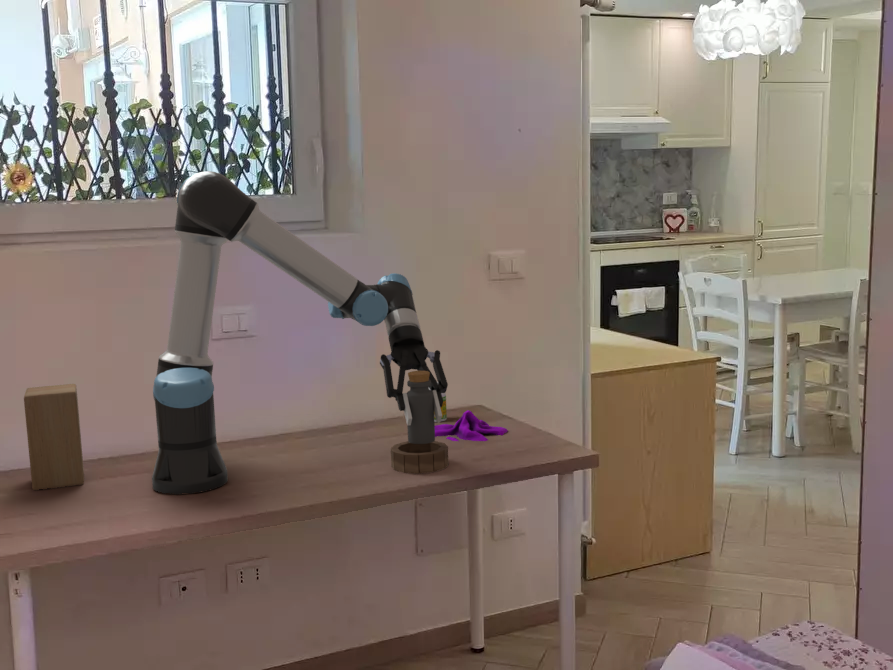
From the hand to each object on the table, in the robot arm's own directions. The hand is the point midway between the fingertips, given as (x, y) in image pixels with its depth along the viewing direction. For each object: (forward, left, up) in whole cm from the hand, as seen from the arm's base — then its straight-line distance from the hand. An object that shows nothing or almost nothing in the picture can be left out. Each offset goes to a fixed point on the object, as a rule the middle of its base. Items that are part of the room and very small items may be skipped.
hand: (424, 420), depth 204 cm
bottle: (0, +4, -6) cm, 7 cm away
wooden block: (-76, +20, -11) cm, 79 cm away
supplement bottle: (+13, +44, -11) cm, 47 cm away
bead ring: (-1, +4, -11) cm, 11 cm away
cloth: (+17, +26, -12) cm, 34 cm away
